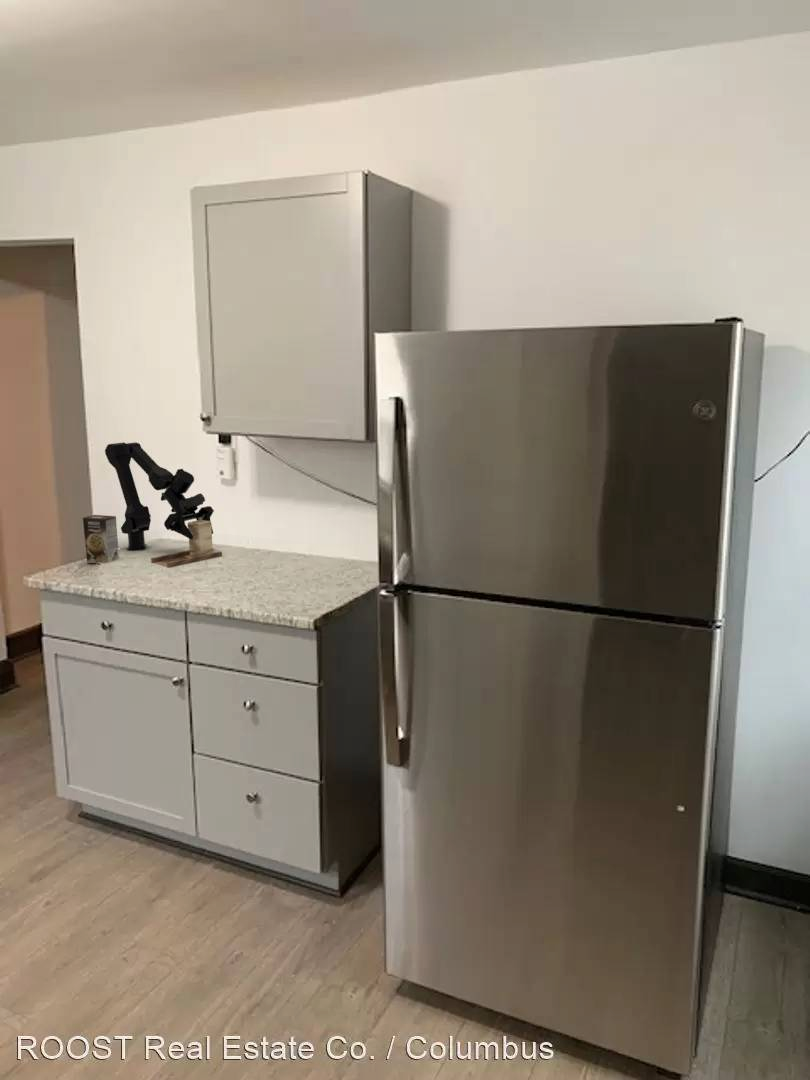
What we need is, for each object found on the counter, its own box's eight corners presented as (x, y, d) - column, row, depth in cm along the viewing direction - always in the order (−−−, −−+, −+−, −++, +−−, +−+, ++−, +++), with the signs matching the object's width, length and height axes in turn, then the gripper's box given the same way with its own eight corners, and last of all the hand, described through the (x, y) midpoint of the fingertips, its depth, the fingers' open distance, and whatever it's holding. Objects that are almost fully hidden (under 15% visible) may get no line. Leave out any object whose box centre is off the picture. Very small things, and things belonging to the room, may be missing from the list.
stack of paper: (189, 556, 290) (187, 522, 288) (202, 553, 295) (199, 519, 292) (201, 558, 287) (199, 524, 284) (213, 555, 292) (211, 521, 289)
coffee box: (86, 563, 287) (81, 517, 283) (98, 559, 293) (93, 514, 289) (108, 565, 284) (104, 518, 281) (120, 561, 290) (116, 515, 287)
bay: (169, 570, 276) (168, 563, 276) (151, 565, 284) (150, 558, 283) (222, 558, 291) (222, 551, 291) (204, 554, 299) (203, 547, 298)
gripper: (167, 490, 280) (192, 526, 277) (208, 483, 296) (233, 517, 292) (153, 511, 286) (177, 546, 283) (194, 503, 302) (218, 536, 298)
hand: (202, 536), depth 289 cm, fingers open, 9 cm apart
